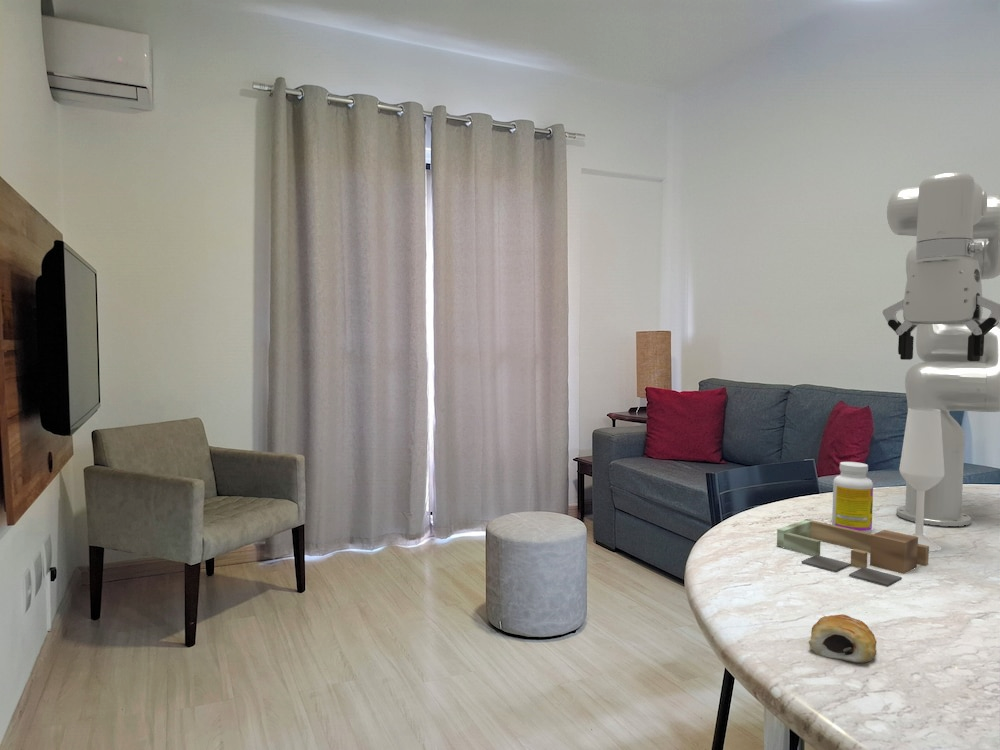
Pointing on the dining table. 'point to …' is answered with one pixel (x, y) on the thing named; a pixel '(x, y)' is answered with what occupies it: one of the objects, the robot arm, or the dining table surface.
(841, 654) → the pastry
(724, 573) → the dining table surface
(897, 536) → the block
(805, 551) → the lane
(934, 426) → the champagne flute
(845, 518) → the supplement bottle
